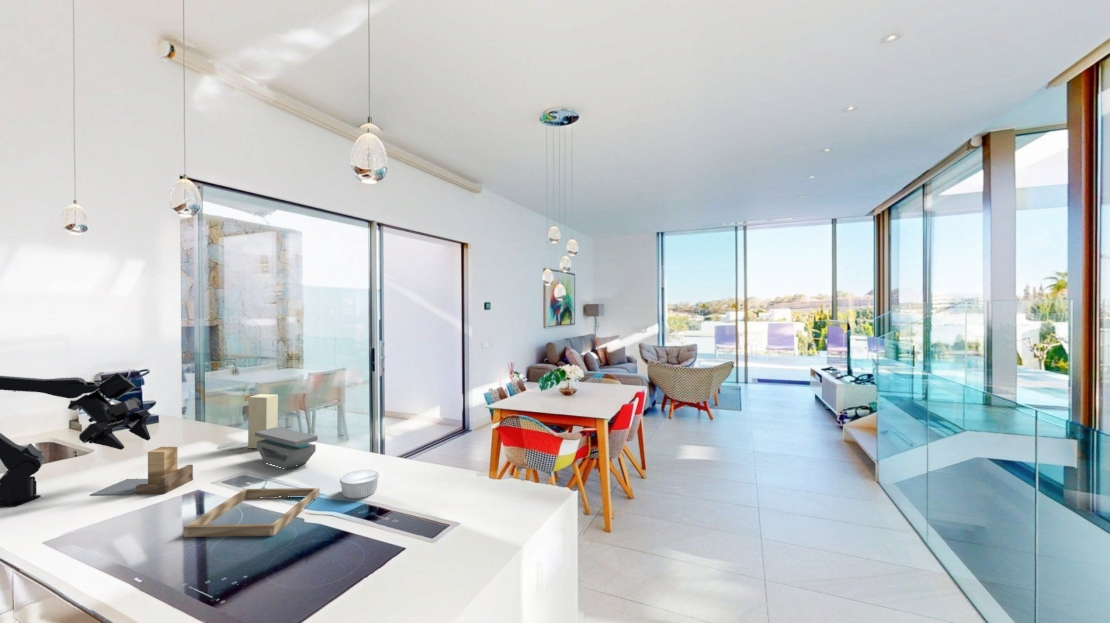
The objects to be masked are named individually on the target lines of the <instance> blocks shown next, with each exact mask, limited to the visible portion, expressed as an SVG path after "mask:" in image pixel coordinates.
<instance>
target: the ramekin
mask: <svg viewBox="0 0 1110 623" xmlns="http://www.w3.org/2000/svg"><path fill="white" fill-rule="evenodd" d="M379 478H380V473H379V472H378V470H373V469H357V470H351V471H349V472H346V473H344V474H343V475H342V476H340V479H339V484H340V488H341V492H342V493H341V494H342V496H344V498H346V497H348V498H347V499H350V498H357V499H361V498H360V497H363V498H366V497H365V496H367V497H370V496H372V495H373V494H374V493H375V491H377V488H378V482H379Z"/></svg>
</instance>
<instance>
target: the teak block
mask: <svg viewBox="0 0 1110 623" xmlns="http://www.w3.org/2000/svg"><path fill="white" fill-rule="evenodd" d="M178 460H179V459H178V446H159V447H157V448H155V449H152V450H149V451H147V479H148V484H160V477H162V476H164V475H166V474H169V473H171V472H173V471H175V470H178V466H179V465H178Z"/></svg>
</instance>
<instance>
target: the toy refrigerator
mask: <svg viewBox="0 0 1110 623" xmlns="http://www.w3.org/2000/svg"><path fill="white" fill-rule="evenodd" d="M278 414H279V394H270V393H268V394H267V393H266V394H265V393H259V394H256V395H251V396H248V418H247V420H248V424H247V429H248V430H247V432H248V433H247V448H257V441H261V440H264V438H260V437H256V436H255V432H258V431H262V430H266V429H270V428H275V427H279V425H278V424H279V421H278V420H279V419H278V418H279V417H278V416H279V415H278Z"/></svg>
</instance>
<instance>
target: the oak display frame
mask: <svg viewBox="0 0 1110 623" xmlns="http://www.w3.org/2000/svg"><path fill="white" fill-rule="evenodd" d="M320 490H321V489H320V487H304V488H303V487H302V488H301V487H298V488H295V487H294V488H290V487H289V488H287V487H286V488H244V489H243V490H241V491H239V492H238V493H236V494H234V495H232V496H231V497H229V498H228V499H226V500H225V501H222V503H220V504H218V505H217V506H215V507H214V508H212V509H210V510H209V511H207V512H206V513H204V514H202V515H200V516H199V517H198V518H196V519H195V520H193V521H190V523H188V524H187V525H185V526H183V537H184V538H198V537H200V538H202V537H207V538H208V537H210V538H211V537H261V536H262V537H268V536H269V537H270V536H271V537H273V536H275V535H277V534H278V533H279V532H280V531H281V530H283V528H285V527H286V526H287V525H289V523H291V522H292V521H293V520H294V519H295V518H297V516H299V515H300V514H301V513H302V512H303V511H302V509H303V508H304V507H305V506H306V505H307V504H309V503H310V502H311V501H312V500H314V499H315V498H316V497H318V496H319V495H321V494H320ZM279 496H281V497H288V496H289V497H290V496H306V497H305V498H301V500H300V501H298V502H297V503H296V504H295V505H294V506H292V507H291V508H290V509H289V510H288V511H286V512H285V513H283V515H282V516H280V517H279V518H277V519H276V520H275V521H274V522H273V523H244V524H243V523H241V524H240V523H238V524H237V523H236V524H235V523H234V524H230V523H229V524H210V523H211V522H212V521H214V520H216V519H217V518H219V517H220V516H222V515H224V514H225V513H227V512H229V511H230V510H231V509H232V508H234V507H236V506H237V505H239V504H240V503H242V502H243V501H245V500H246V499H249V498H250V499H261V498H260V497H279ZM319 497H320V496H319ZM319 497H318V498H319ZM301 511H302V512H301ZM300 512H301V513H300ZM299 513H300V514H299Z"/></svg>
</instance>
